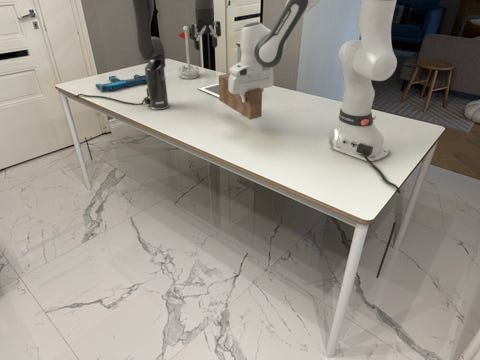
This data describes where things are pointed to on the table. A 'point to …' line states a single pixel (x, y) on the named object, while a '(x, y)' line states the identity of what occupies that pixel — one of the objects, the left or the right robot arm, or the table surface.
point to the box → (234, 101)
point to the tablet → (211, 90)
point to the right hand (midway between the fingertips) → (251, 100)
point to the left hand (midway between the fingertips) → (206, 48)
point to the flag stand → (187, 71)
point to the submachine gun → (121, 82)
